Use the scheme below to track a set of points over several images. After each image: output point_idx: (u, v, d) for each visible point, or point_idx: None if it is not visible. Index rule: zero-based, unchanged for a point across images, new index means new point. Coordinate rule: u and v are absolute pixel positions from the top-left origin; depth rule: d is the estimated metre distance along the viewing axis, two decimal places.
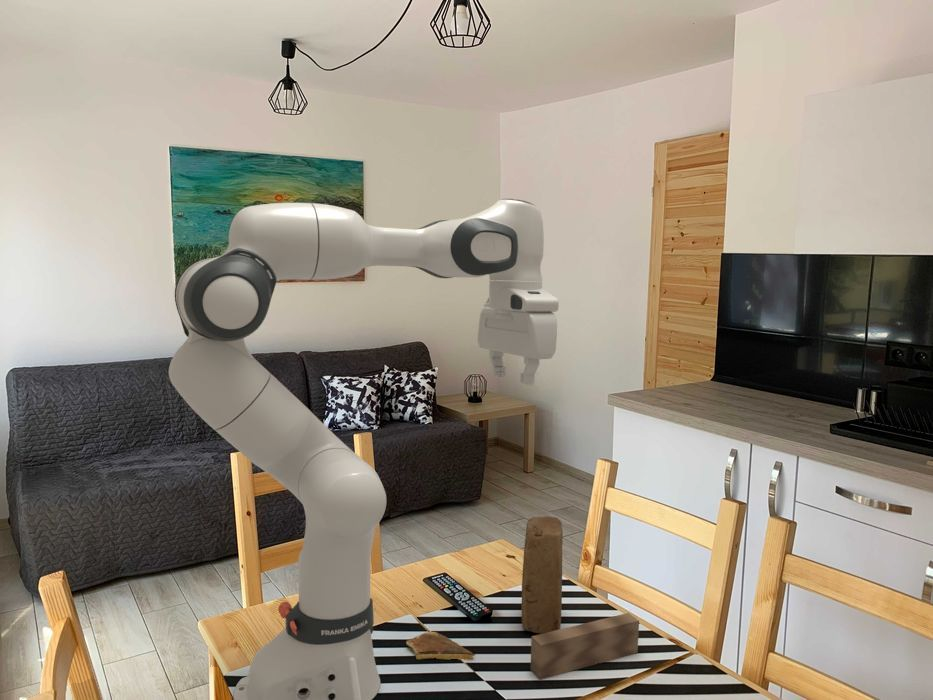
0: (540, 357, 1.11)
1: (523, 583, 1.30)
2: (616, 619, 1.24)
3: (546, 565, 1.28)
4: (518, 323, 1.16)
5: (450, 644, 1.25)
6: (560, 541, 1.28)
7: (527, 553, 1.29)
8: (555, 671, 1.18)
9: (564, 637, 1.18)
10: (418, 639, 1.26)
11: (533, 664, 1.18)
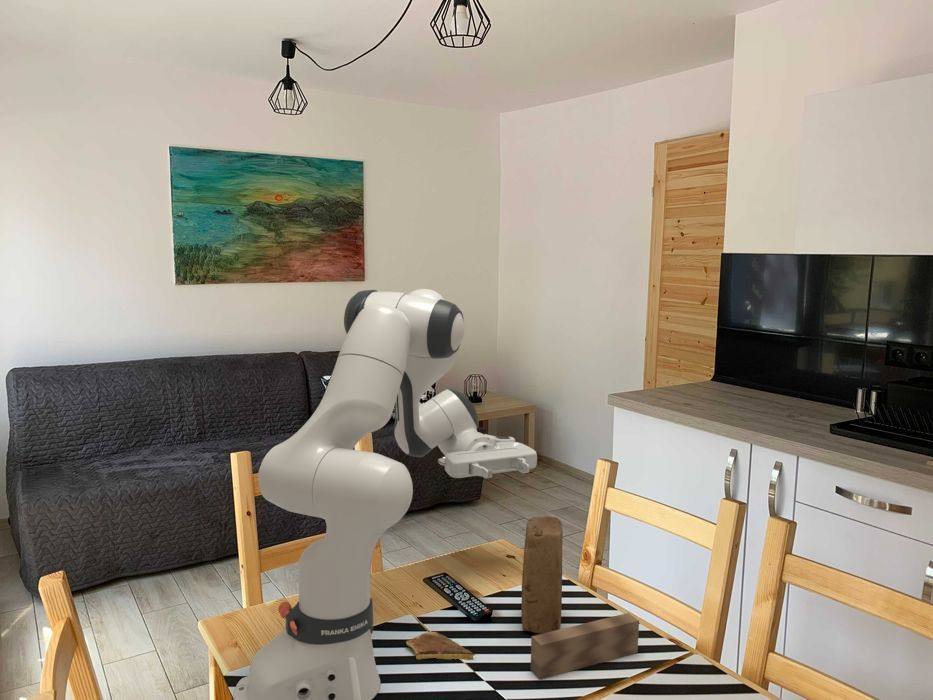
0: (536, 456, 1.53)
1: (523, 583, 1.30)
2: (616, 619, 1.24)
3: (546, 565, 1.28)
4: (502, 450, 1.55)
5: (450, 644, 1.25)
6: (560, 541, 1.28)
7: (527, 553, 1.29)
8: (555, 671, 1.18)
9: (564, 637, 1.18)
10: (418, 639, 1.26)
11: (533, 664, 1.18)
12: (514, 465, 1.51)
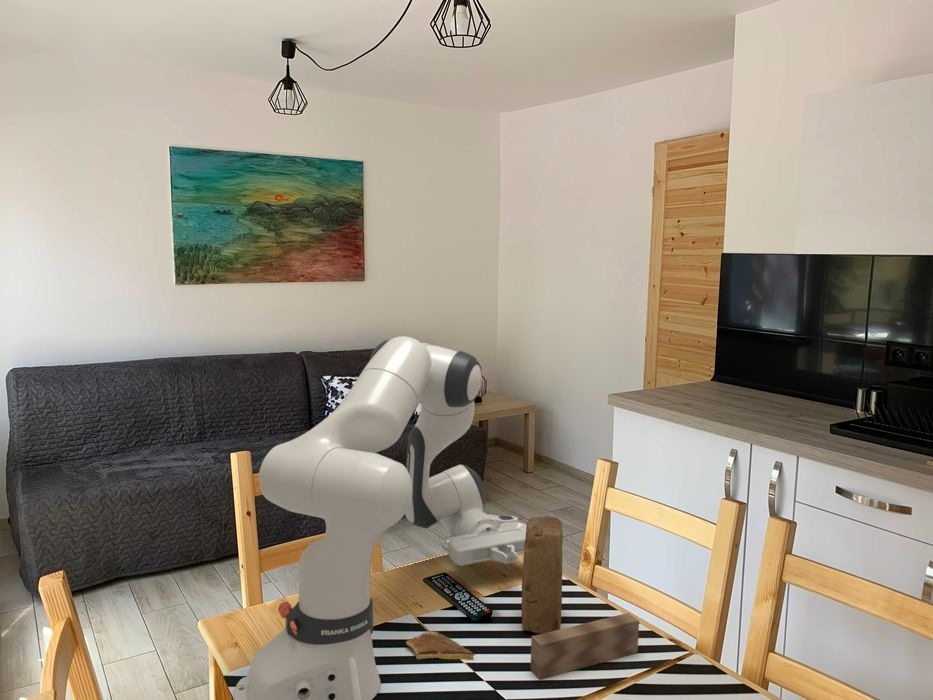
0: None
1: (523, 583, 1.30)
2: (616, 619, 1.24)
3: (546, 565, 1.28)
4: (505, 532, 1.55)
5: (450, 644, 1.25)
6: (560, 541, 1.28)
7: (527, 553, 1.29)
8: (555, 671, 1.18)
9: (564, 637, 1.18)
10: (418, 639, 1.26)
11: (533, 664, 1.18)
12: (503, 552, 1.50)
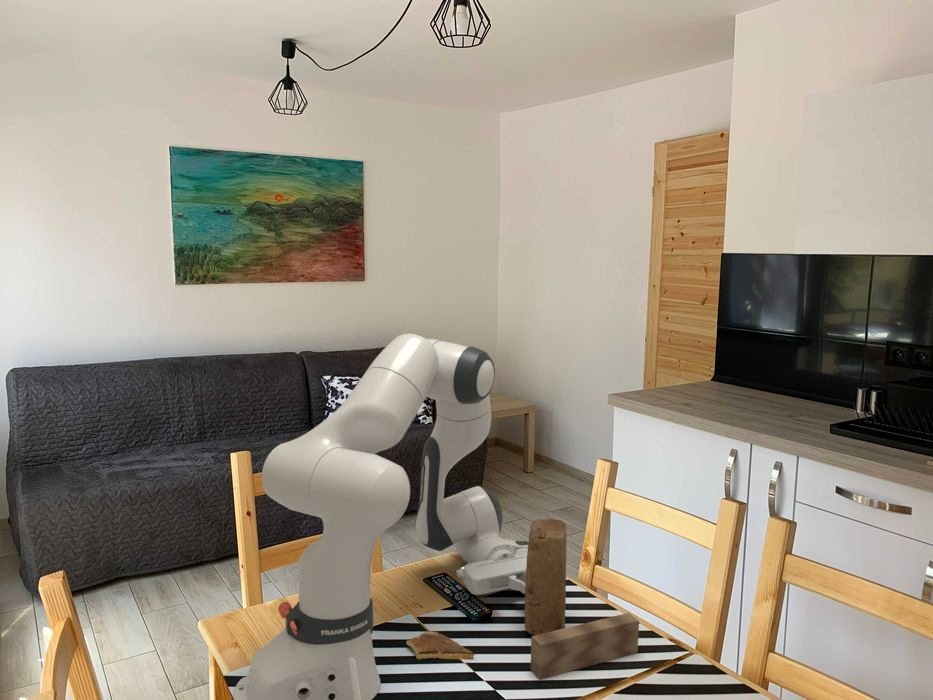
0: None
1: (526, 586, 1.29)
2: (616, 619, 1.24)
3: (549, 568, 1.27)
4: (523, 558, 1.48)
5: (450, 644, 1.25)
6: (563, 544, 1.27)
7: (530, 555, 1.28)
8: (555, 671, 1.18)
9: (564, 637, 1.18)
10: (418, 639, 1.26)
11: (533, 664, 1.18)
12: (521, 580, 1.43)
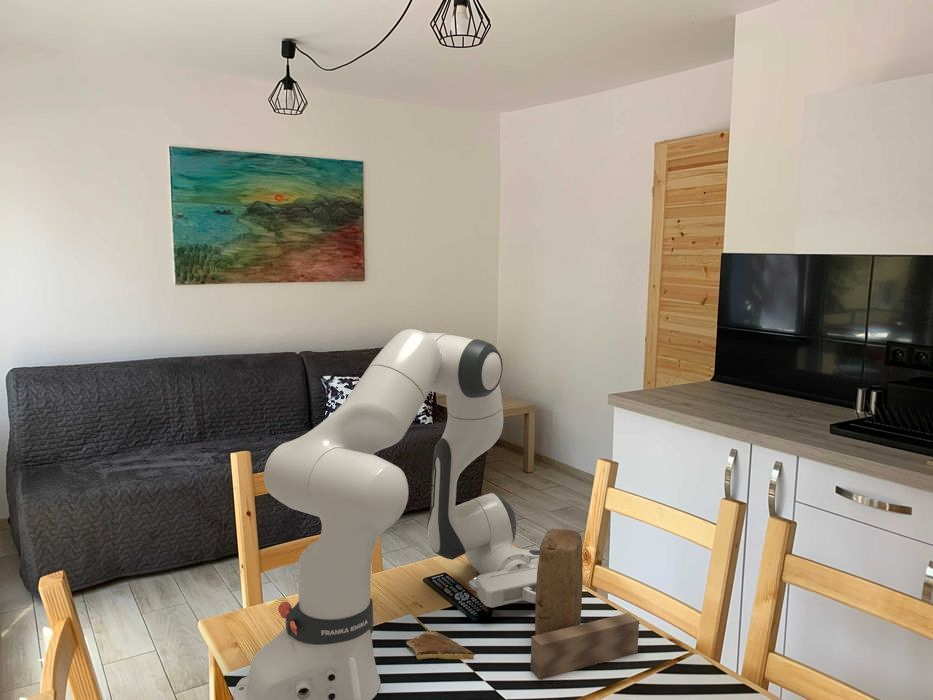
0: None
1: (536, 597, 1.24)
2: (616, 619, 1.24)
3: (559, 580, 1.22)
4: (537, 568, 1.43)
5: (450, 644, 1.25)
6: (574, 557, 1.21)
7: (540, 566, 1.23)
8: (555, 671, 1.18)
9: (564, 637, 1.18)
10: (418, 639, 1.26)
11: (533, 664, 1.18)
12: None
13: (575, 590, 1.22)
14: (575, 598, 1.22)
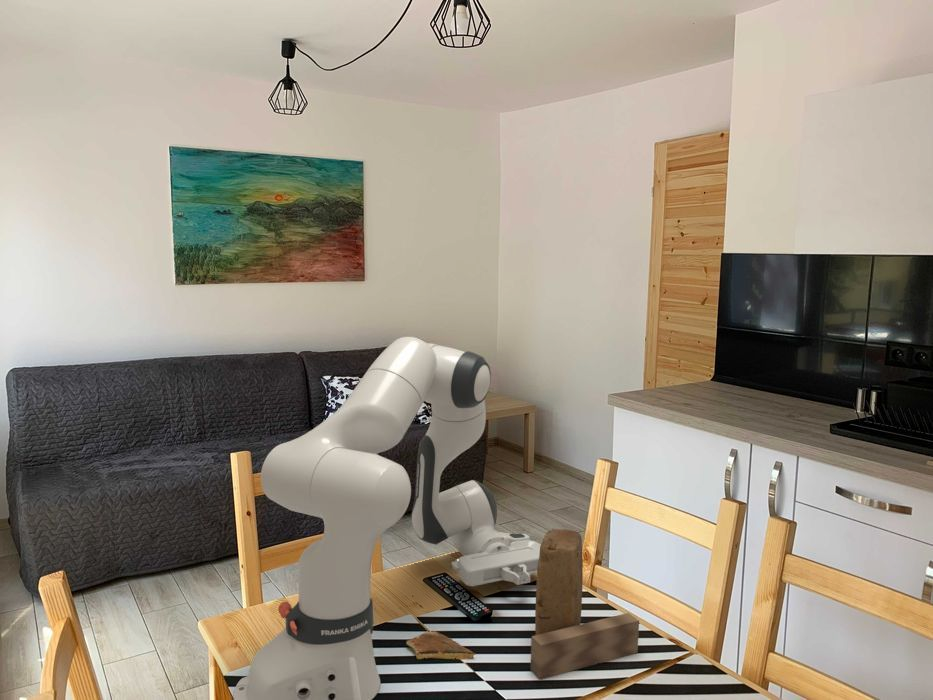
0: None
1: (536, 598, 1.24)
2: (616, 619, 1.24)
3: (559, 580, 1.22)
4: (517, 550, 1.51)
5: (450, 644, 1.25)
6: (574, 557, 1.21)
7: (540, 566, 1.23)
8: (555, 671, 1.18)
9: (564, 637, 1.18)
10: (418, 639, 1.26)
11: (533, 664, 1.18)
12: (514, 572, 1.46)
13: (575, 590, 1.22)
14: (575, 598, 1.22)
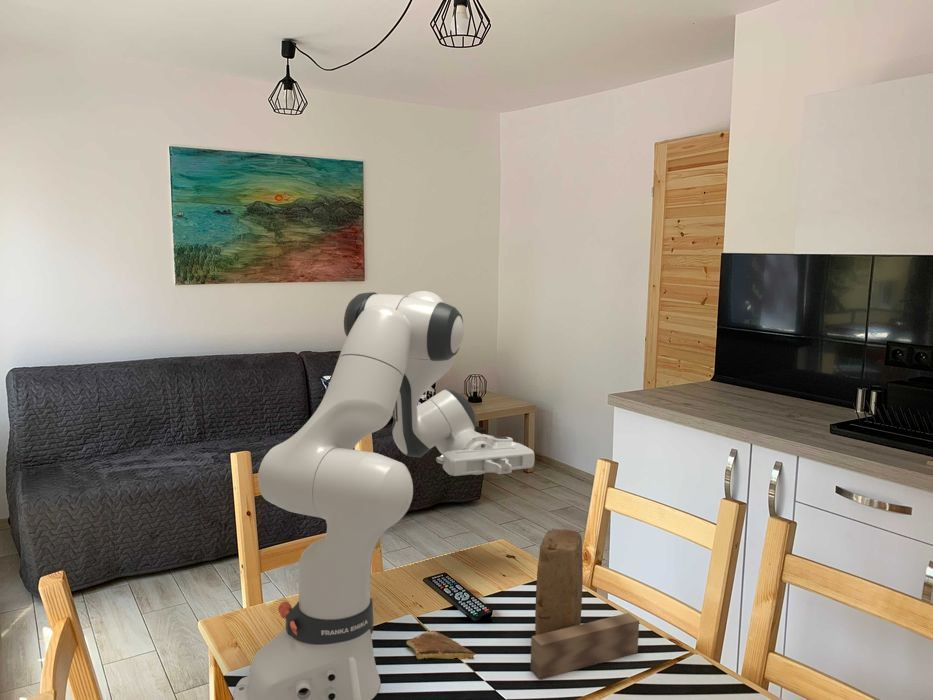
0: (534, 456, 1.54)
1: (536, 597, 1.24)
2: (616, 619, 1.24)
3: (559, 580, 1.22)
4: (500, 449, 1.56)
5: (450, 643, 1.25)
6: (574, 557, 1.21)
7: (540, 566, 1.23)
8: (555, 671, 1.18)
9: (564, 637, 1.18)
10: (418, 639, 1.26)
11: (533, 664, 1.18)
12: None
13: (575, 590, 1.22)
14: (575, 598, 1.22)
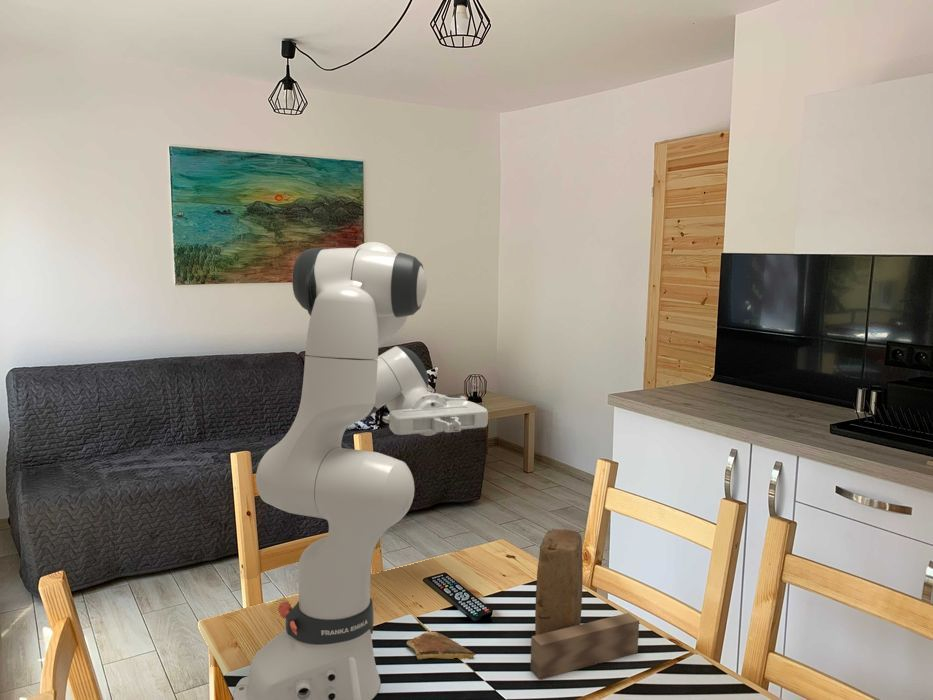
0: (487, 414, 1.45)
1: (536, 598, 1.24)
2: (616, 619, 1.24)
3: (559, 580, 1.22)
4: (451, 408, 1.47)
5: (450, 644, 1.25)
6: (574, 557, 1.21)
7: (540, 566, 1.23)
8: (555, 671, 1.18)
9: (564, 637, 1.18)
10: (418, 639, 1.26)
11: (533, 664, 1.18)
12: None
13: (575, 590, 1.22)
14: (575, 598, 1.22)
